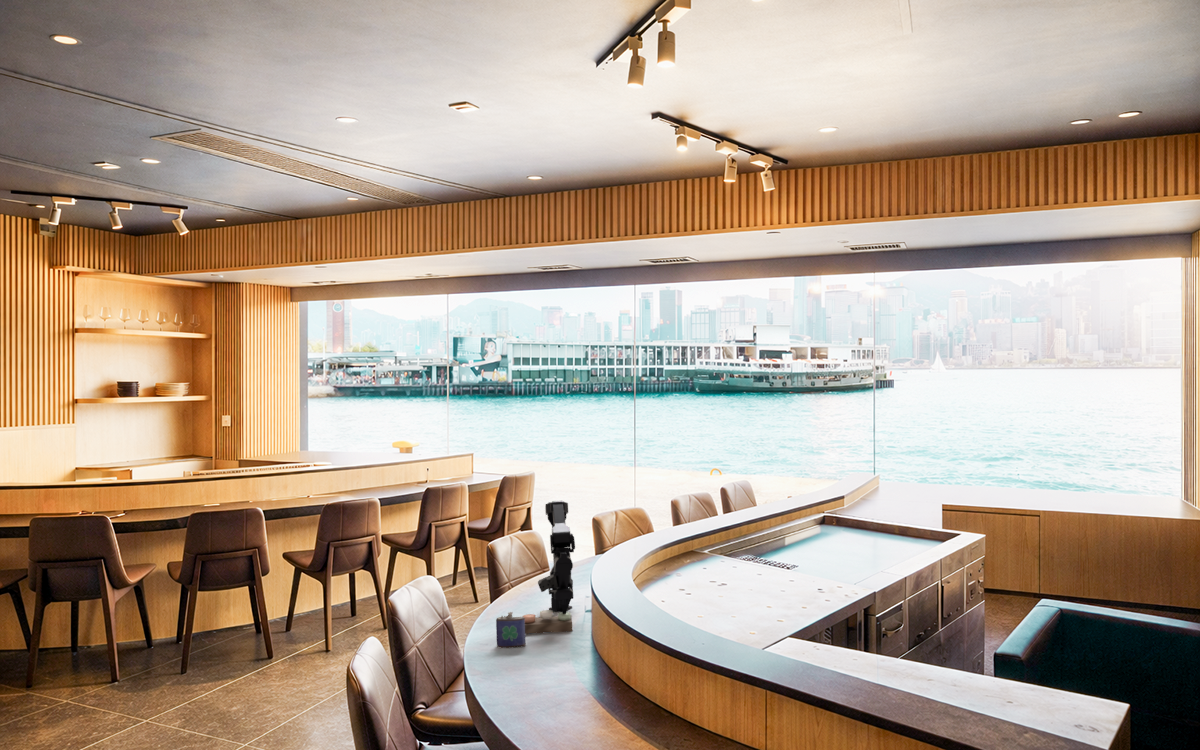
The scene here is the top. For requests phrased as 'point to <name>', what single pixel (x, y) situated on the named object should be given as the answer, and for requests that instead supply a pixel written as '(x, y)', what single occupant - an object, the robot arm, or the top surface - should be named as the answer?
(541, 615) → the button cream
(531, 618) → the button terracotta
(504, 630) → the flask
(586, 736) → the top surface
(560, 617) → the button sage
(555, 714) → the top surface
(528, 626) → the console
